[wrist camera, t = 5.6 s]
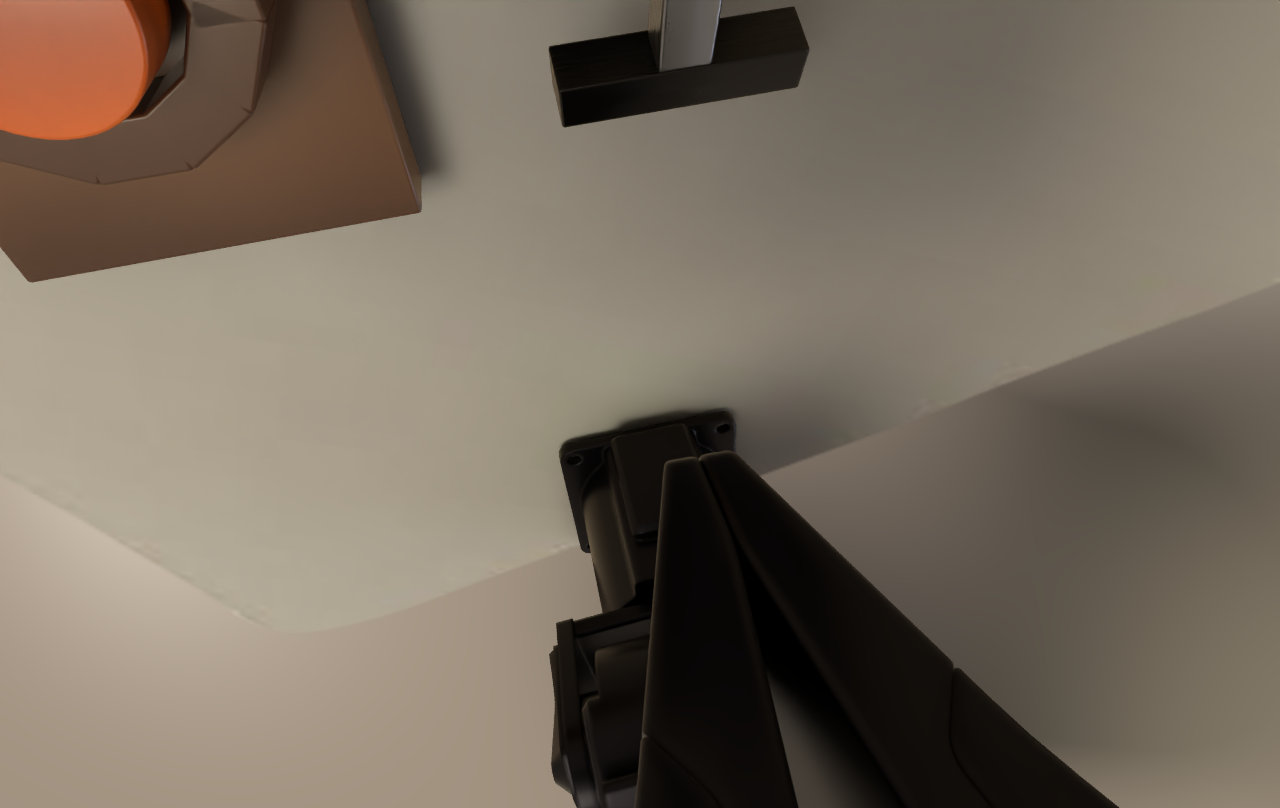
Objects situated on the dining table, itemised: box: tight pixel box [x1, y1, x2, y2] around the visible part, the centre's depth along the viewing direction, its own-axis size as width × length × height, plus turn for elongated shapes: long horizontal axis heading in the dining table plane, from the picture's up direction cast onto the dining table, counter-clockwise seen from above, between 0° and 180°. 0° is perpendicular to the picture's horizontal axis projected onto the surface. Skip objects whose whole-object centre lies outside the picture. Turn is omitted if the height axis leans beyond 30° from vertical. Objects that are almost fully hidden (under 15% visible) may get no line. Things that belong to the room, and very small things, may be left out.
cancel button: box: [0, 0, 171, 140], centre depth 12 cm, size 4×4×2 cm
